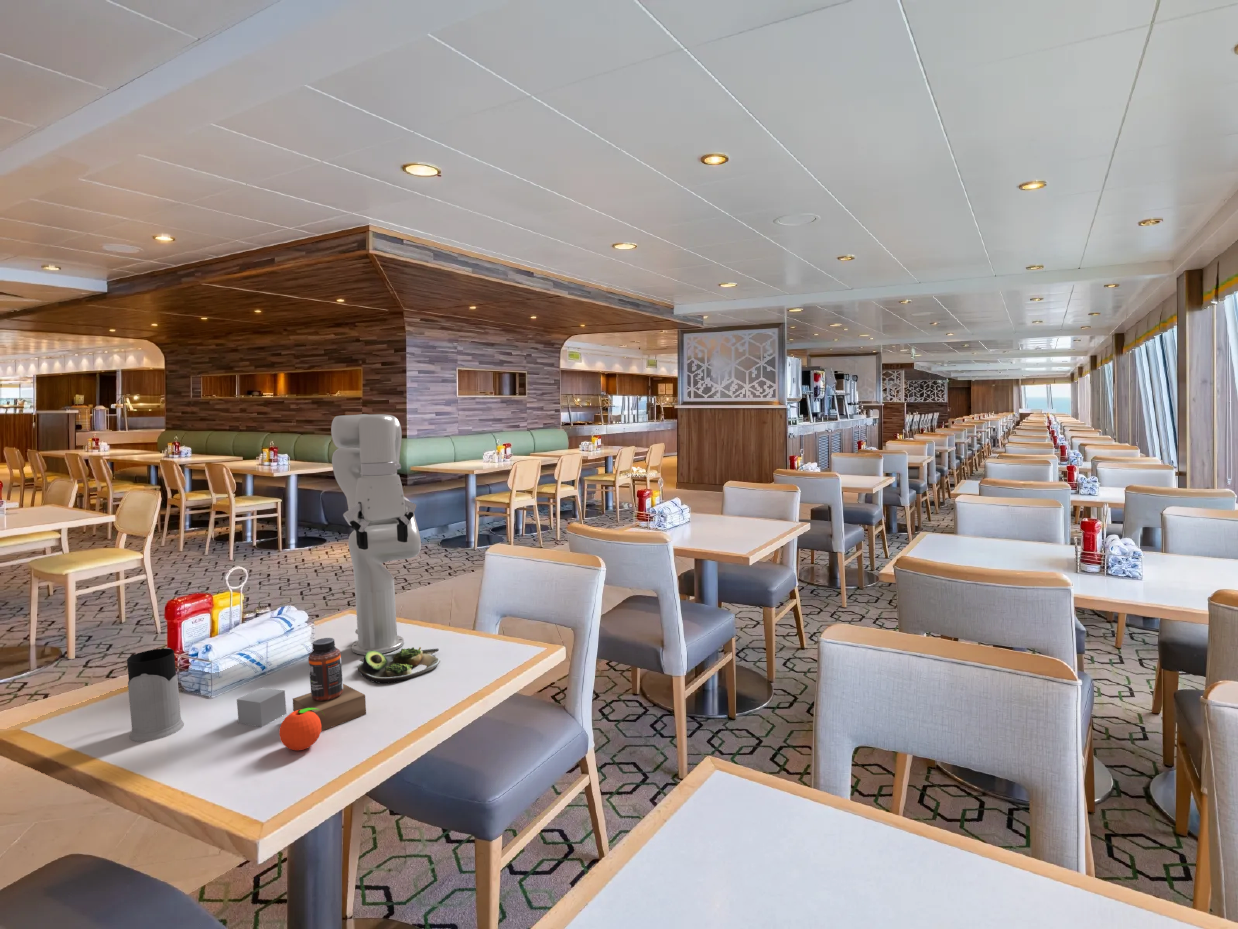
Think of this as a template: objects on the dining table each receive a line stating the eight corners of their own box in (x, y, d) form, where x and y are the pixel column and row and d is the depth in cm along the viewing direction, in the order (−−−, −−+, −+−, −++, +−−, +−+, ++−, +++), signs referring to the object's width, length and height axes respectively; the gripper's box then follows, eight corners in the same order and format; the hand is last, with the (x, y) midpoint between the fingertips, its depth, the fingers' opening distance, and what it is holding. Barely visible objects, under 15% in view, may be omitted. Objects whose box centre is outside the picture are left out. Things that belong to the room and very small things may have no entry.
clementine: (316, 733, 129) (313, 696, 128) (335, 743, 124) (333, 706, 124) (273, 750, 122) (270, 712, 122) (292, 762, 118) (289, 722, 117)
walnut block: (293, 718, 135) (292, 698, 135) (342, 701, 143) (341, 682, 142) (316, 732, 129) (315, 712, 128) (366, 714, 136) (365, 694, 136)
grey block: (238, 723, 134) (236, 699, 133) (263, 710, 139) (261, 687, 139) (262, 727, 132) (260, 702, 131) (286, 714, 137) (284, 690, 137)
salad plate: (423, 648, 175) (422, 630, 175) (459, 665, 162) (458, 646, 162) (348, 669, 162) (347, 650, 161) (381, 690, 149) (379, 670, 148)
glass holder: (121, 744, 126) (114, 666, 125) (151, 712, 140) (145, 641, 139) (174, 737, 129) (168, 660, 127) (199, 706, 142) (193, 636, 141)
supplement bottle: (349, 689, 138) (345, 635, 138) (334, 702, 133) (330, 646, 132) (321, 689, 139) (317, 635, 138) (305, 702, 133) (301, 645, 132)
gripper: (404, 466, 162) (408, 537, 163) (333, 472, 149) (338, 549, 150) (422, 467, 157) (425, 540, 158) (350, 474, 144) (355, 554, 145)
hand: (383, 545), depth 154 cm, fingers open, 9 cm apart
